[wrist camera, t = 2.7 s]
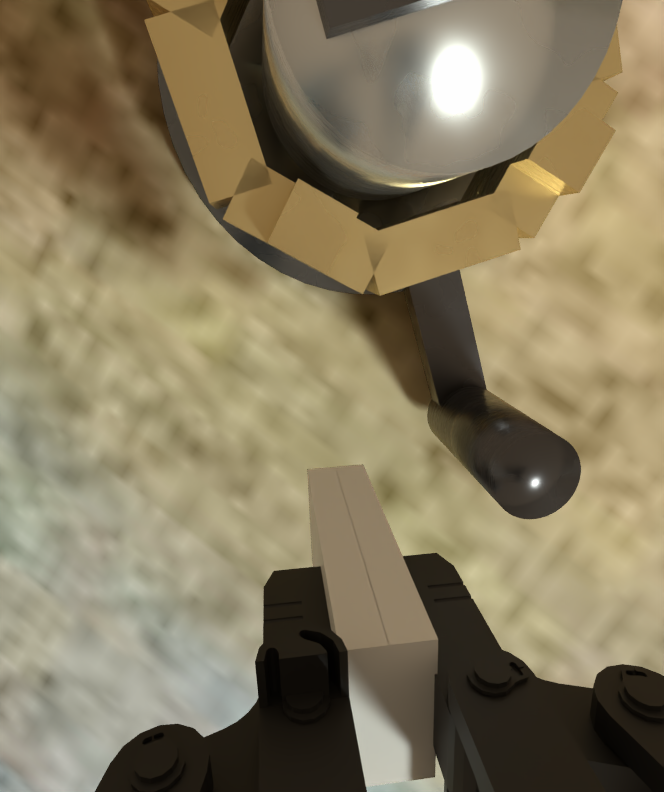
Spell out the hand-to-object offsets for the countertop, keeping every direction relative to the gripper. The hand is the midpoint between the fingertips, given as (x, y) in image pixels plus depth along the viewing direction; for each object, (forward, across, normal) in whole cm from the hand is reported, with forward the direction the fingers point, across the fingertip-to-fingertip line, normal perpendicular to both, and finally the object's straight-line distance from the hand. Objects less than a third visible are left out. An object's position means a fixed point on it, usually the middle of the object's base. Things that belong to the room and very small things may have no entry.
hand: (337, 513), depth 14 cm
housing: (+9, +3, +12) cm, 16 cm away
